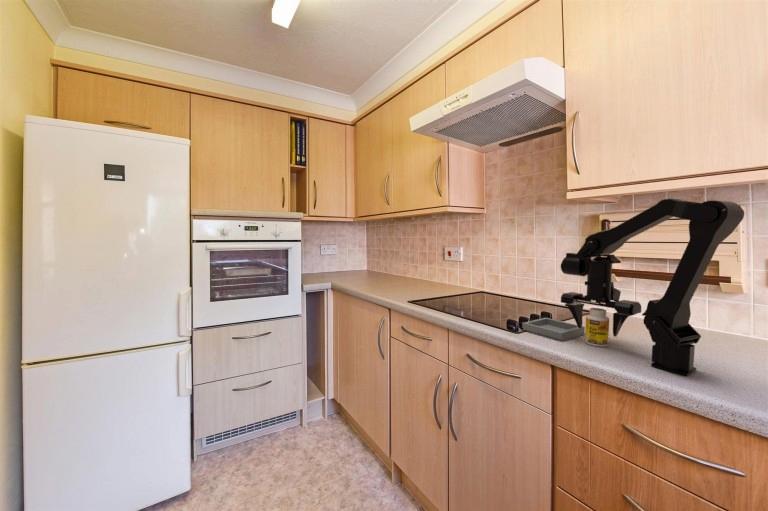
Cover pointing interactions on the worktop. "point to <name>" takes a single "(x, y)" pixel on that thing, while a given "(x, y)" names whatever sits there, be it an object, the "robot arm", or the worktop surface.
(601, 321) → the supplement bottle
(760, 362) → the worktop surface
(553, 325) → the tray
